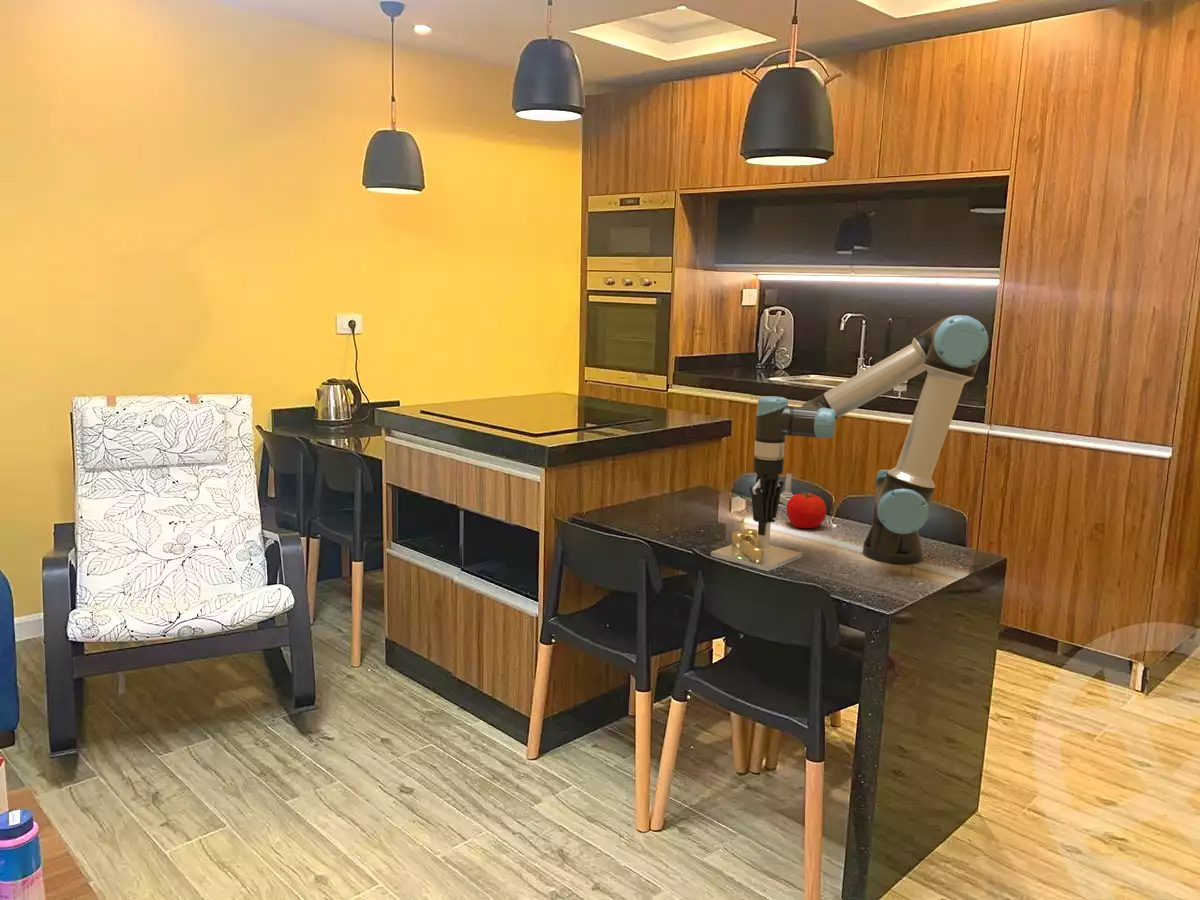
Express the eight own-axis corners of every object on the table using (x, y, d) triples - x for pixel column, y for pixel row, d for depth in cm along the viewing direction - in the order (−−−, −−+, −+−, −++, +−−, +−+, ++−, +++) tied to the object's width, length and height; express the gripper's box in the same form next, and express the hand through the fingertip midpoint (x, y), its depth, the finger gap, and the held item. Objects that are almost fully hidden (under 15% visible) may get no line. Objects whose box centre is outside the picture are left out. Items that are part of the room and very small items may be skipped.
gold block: (742, 540, 241) (742, 528, 240) (755, 540, 241) (756, 529, 241) (749, 551, 231) (749, 539, 230) (762, 551, 231) (763, 539, 230)
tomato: (794, 519, 272) (796, 486, 270) (830, 526, 265) (833, 492, 263) (778, 527, 262) (780, 493, 260) (815, 534, 255) (818, 499, 254)
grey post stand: (800, 483, 280) (778, 472, 294) (797, 513, 282) (775, 501, 296) (815, 483, 281) (792, 472, 295) (812, 512, 283) (789, 500, 297)
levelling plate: (802, 557, 232) (803, 541, 231) (767, 571, 219) (768, 554, 218) (745, 543, 243) (746, 527, 242) (709, 556, 230) (710, 539, 230)
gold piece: (765, 562, 222) (766, 549, 221) (751, 562, 221) (752, 550, 220) (749, 550, 232) (750, 538, 231) (736, 550, 231) (737, 538, 230)
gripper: (769, 452, 235) (763, 538, 239) (742, 458, 225) (737, 548, 229) (794, 456, 230) (788, 544, 234) (768, 462, 220) (762, 554, 225)
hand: (763, 546), depth 232 cm, fingers closed
